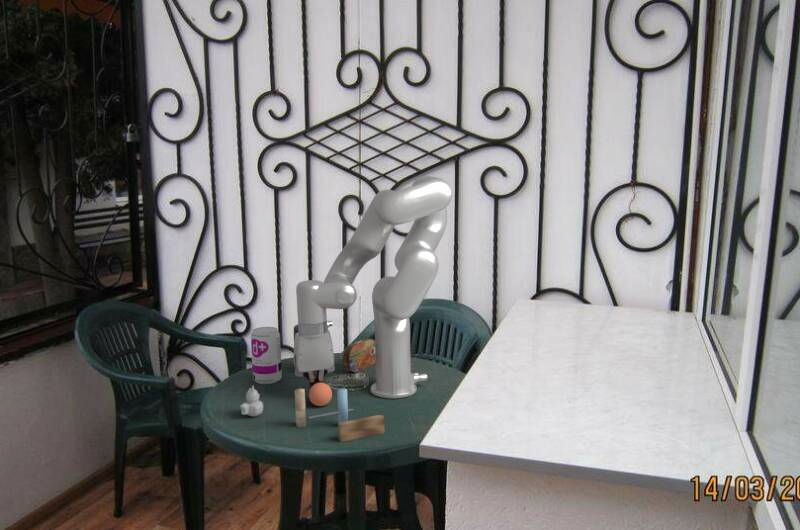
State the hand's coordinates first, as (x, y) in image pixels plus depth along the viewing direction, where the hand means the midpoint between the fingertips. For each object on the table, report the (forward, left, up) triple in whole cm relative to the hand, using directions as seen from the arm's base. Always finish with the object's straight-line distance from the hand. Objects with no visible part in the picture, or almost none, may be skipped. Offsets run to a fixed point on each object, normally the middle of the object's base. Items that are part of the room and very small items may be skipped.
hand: (316, 394), depth 192 cm
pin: (0, +20, -1) cm, 20 cm away
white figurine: (+18, +3, -2) cm, 18 cm away
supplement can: (+7, -22, -2) cm, 23 cm away
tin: (-21, -19, -2) cm, 28 cm away
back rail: (-1, +28, -1) cm, 28 cm away
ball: (0, +5, +2) cm, 5 cm away
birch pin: (+9, +15, -1) cm, 18 cm away
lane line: (0, +12, -1) cm, 12 cm away
